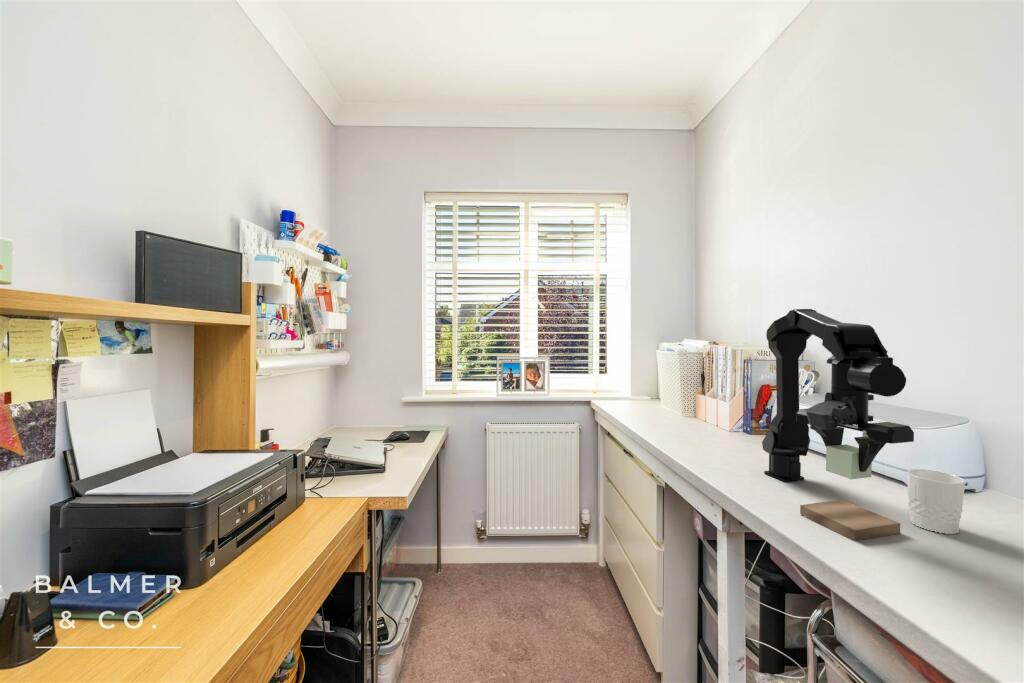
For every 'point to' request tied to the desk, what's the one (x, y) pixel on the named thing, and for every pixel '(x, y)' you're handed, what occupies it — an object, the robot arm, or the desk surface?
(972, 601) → the desk surface
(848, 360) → the robot arm
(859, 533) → the base slab
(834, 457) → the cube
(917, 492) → the white cup
